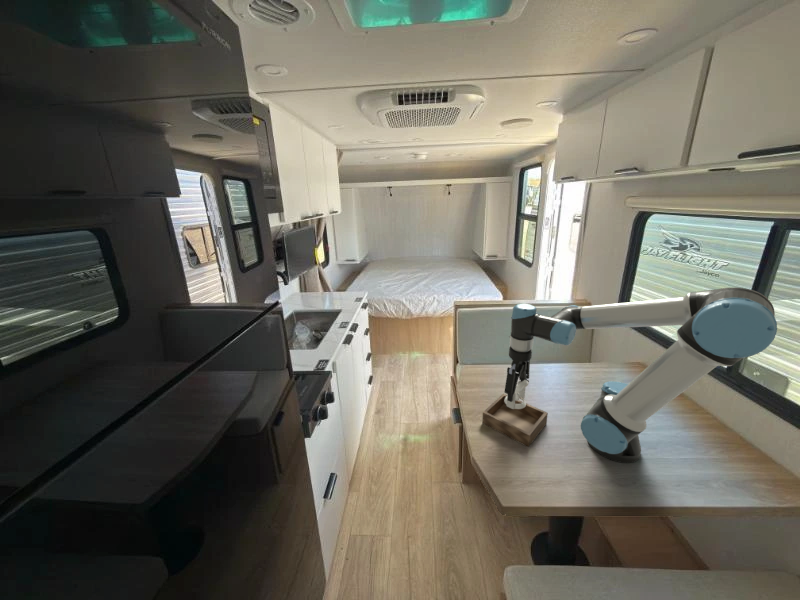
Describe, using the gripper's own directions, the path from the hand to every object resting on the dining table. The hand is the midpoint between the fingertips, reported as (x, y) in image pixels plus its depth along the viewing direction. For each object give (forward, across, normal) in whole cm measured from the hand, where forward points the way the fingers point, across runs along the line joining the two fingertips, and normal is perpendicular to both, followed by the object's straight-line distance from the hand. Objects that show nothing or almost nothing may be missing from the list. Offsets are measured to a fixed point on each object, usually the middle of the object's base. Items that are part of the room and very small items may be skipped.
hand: (515, 401), depth 114 cm
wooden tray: (+10, 0, 0) cm, 10 cm away
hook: (+1, 0, 0) cm, 1 cm away
